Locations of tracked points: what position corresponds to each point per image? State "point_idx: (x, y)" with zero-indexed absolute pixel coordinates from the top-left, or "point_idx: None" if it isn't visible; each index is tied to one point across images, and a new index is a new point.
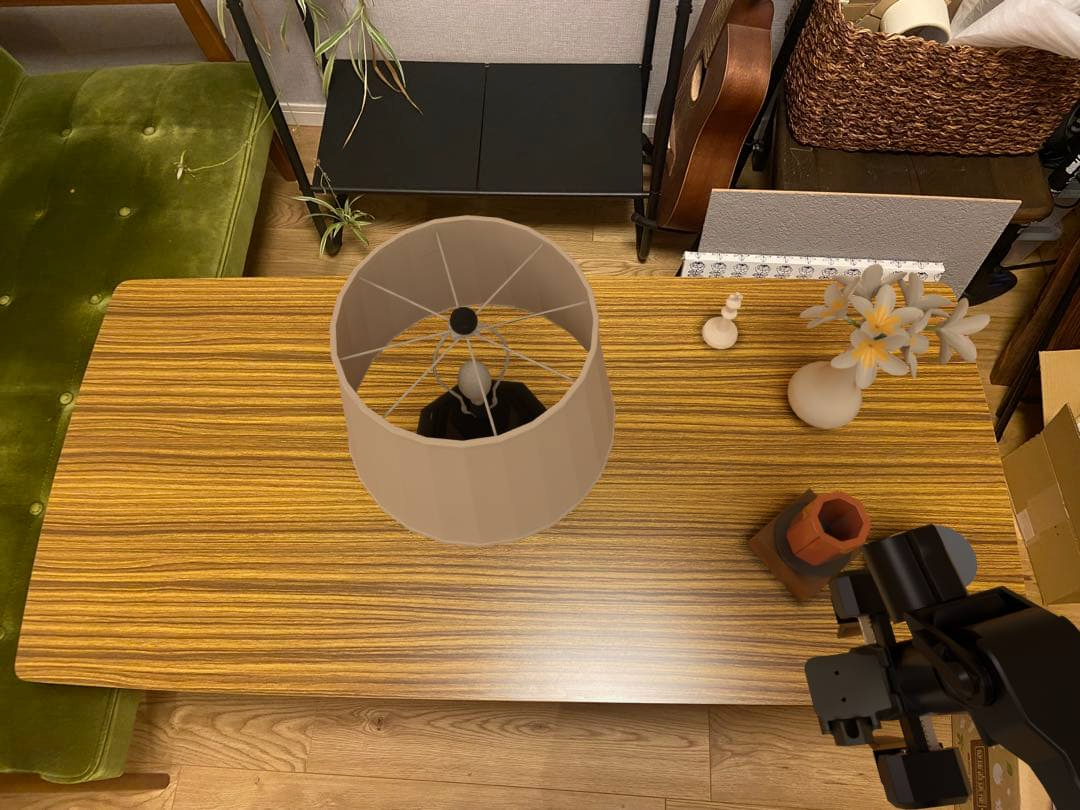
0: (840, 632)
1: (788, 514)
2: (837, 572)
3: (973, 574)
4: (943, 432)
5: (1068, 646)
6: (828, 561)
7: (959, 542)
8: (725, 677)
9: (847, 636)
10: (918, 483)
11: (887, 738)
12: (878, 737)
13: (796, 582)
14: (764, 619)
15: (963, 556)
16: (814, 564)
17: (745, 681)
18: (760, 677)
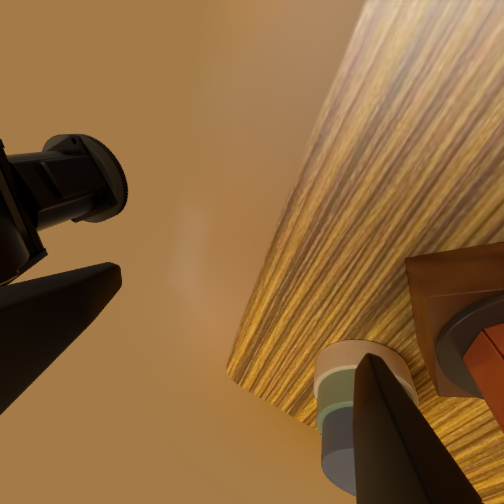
0: (403, 413)
1: None
2: (439, 349)
3: (331, 478)
4: (472, 482)
5: None
6: (480, 360)
7: None
8: (367, 76)
9: (369, 404)
10: (441, 437)
11: (46, 335)
12: (74, 307)
13: (461, 279)
14: (416, 196)
15: None
16: (490, 334)
17: (343, 115)
18: (337, 145)
